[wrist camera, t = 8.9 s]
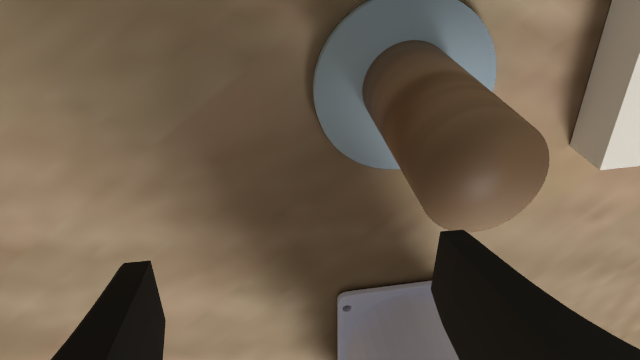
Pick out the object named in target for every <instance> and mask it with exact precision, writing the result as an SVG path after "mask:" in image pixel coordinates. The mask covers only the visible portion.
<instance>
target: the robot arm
mask: <svg viewBox="0 0 640 360" xmlns="http://www.w3.org/2000/svg"><path fill="white" fill-rule="evenodd" d="M347 305H349V306H347ZM344 306H346V307H344ZM164 334H165V317H164V313H163V309H162V305H161V301H160V297H159V293H158V289H157V285H156V281H155V277H154V273H153V269H152V265H151V261H141V262H131V263H124V264H123V265H122V266H121V267H120V268H119V270H118V271H117V272H116V274H115V275H114V277H113V278H112V280H111V281H110V283H109V284H108V286H107V287H106V288H105V290H104V291H103V293H102V294H101V295H100V297H99V298H98V300H97V301H96V302H95V304H94V305H93V307H92V308H91V309H90V311H89V312H88V313H87V315H86V316H85V317H84V319H83V320H82V321H81V323H80V324H79V325H78V327H77V328H76V329H75V331H74V332H73V333H72V334H71V336H70V337H69V338H68V340H67V341H66V342H65V343H64V344H63V346H62V347H61V348H60V349H59V350H58V352H57V353H56V354H55V355H54V356H53V358H52V359H51V360H163V348H164ZM337 360H640V349H638V348H636V347H634V346H632V345H630V344H628V343H626V342H625V341H623V340H621V339H619V338H617V337H615V336H614V335H612V334H610V333H609V332H607V331H605V330H604V329H602V328H600V327H598V326H597V325H595V324H593V323H592V322H590V321H588V320H587V319H585V318H583V317H582V316H580V315H579V314H577V313H575V312H574V311H572V310H571V309H569V308H568V307H566V306H565V305H563V304H562V303H560V302H559V301H557V300H556V299H554V298H553V297H552V296H550V295H549V294H547V293H546V292H544V291H543V290H542V289H540V288H539V287H537V286H536V285H535V284H533V283H532V282H530V281H529V280H528V279H526V278H525V277H524V276H522V275H521V274H520V273H518V272H517V271H516V270H515V269H513V268H512V267H511V266H509V265H508V264H507V263H505V262H504V261H503V260H502V259H500V258H499V257H498V256H497V255H495V254H494V253H493V252H491V251H490V250H489V249H488V248H486V247H485V246H484V245H483V244H481V243H480V242H479V241H478V240H476V239H475V238H474V237H472V236H471V235H470V234H469V233H467V232H466V231H465V230H453V231H443V232H440V237H439V243H438V249H437V255H436V261H435V267H434V273H433V278H432V281H425V282H417V283H409V284H401V285H394V286H386V287H378V288H370V289H362V290H354V291H347V292H343V293H341V294H340V295H339V296H338V298H337Z"/></svg>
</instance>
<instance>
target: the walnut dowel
mask: <svg viewBox="0 0 640 360" xmlns="http://www.w3.org/2000/svg"><path fill="white" fill-rule="evenodd" d="M362 96H363V101H364V105H365V107H366V109H367V111H368V113H369V115H370V117H371V118H372V120H373V122H374V123H375V125H376V127H377V129H378V130H379V132H380V134H381V136H382V137H383V139H384V141H385V143H386V144H387V146H388V148H389V150H390V151H391V153H392V155H393V157H394V158H395V160H396V162H397V164H398V165H399V167H400V169H401V171H402V172H403V174H404V176H405V177H406V179H407V181H408V183H409V184H410V186H411V188H412V190H413V191H414V193H415V195H416V197H417V198H418V200H419V202H420V204H421V205H422V207H423V209H424V211H425V212H426V214H427V215H428V216H429V218H430V219H431V220H432V221H433V222H435V223H436V224H438V225H439V226H441V227H443V228H445V229H448V230H451V231H453V230H465V231H466V232H477V231H482V230H486V229H490V228H493V227H495V226H498V225H500V224H502V223H504V222H506V221H508V220H509V219H511V218H513V217H514V216H516V215H517V214H518V213H520V212H521V211H522V210H523V209H524V208H525V207H526V206H527V205H528V204H529V203H530V202H531V201H532V200H533V199H534V197H535V196H536V195H537V193H538V192H539V190H540V189H541V187H542V185H543V183H544V181H545V178H546V175H547V172H548V167H549V151H548V147H547V144H546V142H545V139H544V138H543V136H542V135H541V133H540V132H539V131H538V130H537V129H536V128H535V127H533V126H532V125H531V124H530V123H529V122H527V121H526V120H525V119H524V118H523V117H521V116H520V115H519V114H518V113H517V112H515V111H514V110H513V109H512V108H511V107H509V106H508V105H507V104H506V103H505V102H503V101H502V100H501V99H500V98H499V97H497V96H496V95H495V94H494V93H493V92H491V91H490V90H489V89H488V88H487V87H485V86H484V85H483V84H482V83H481V82H479V81H478V80H477V79H476V78H475V77H473V76H472V75H471V74H470V73H469V72H467V71H466V70H465V69H464V68H463V67H461V66H460V65H459V64H458V63H457V62H455V61H454V60H453V59H452V58H451V57H449V56H448V55H447V54H446V53H445V52H443V51H442V50H441V49H440V48H438V47H437V46H436V45H434V44H432V43H429V42H426V41H421V40H409V41H403V42H400V43H397V44H395V45H393V46H391V47H389V48H387V49H386V50H384V51H383V52H382V53H381V54H380V55H378V56H377V58H376V59H375V60H374V61H373V62H372V64H371V65H370V67H369V69H368V70H367V72H366V75H365V78H364V82H363V88H362Z"/></svg>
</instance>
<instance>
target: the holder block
mask: <svg viewBox="0 0 640 360" xmlns="http://www.w3.org/2000/svg"><path fill="white" fill-rule="evenodd" d="M570 147H572V148H573V149H574V150H575V151H577V152H578V153H579V154H580V155H582V156H583V157H584V158H585V159H587V160H588V161H589V162H590V163H591V164H593V165H594V166H595V167H596V168H598V169H599V170H606V169H615V168H625V167H635V166H640V0H612V2H611V5H610V9H609V12H608V16H607V19H606V23H605V26H604V29H603V33H602V36H601V40H600V43H599V47H598V50H597V53H596V57H595V60H594V64H593V67H592V71H591V74H590V78H589V81H588V84H587V88H586V91H585V95H584V98H583V102H582V105H581V108H580V112H579V115H578V119H577V122H576V126H575V129H574V132H573V136H572V139H571V143H570Z"/></svg>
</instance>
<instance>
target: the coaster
mask: <svg viewBox="0 0 640 360" xmlns="http://www.w3.org/2000/svg"><path fill="white" fill-rule="evenodd" d="M409 40H421V41H426V42H429V43H432V44H434V45H436V46H437V47H438V48H440V49H441V50H442V51H443V52H445V53H446V54H447V55H448V56H449V57H451V58H452V59H453V60H454V61H455V62H457V63H458V64H459V65H460V66H461V67H463V68H464V69H465V70H466V71H467V72H469V73H470V74H471V75H472V76H473V77H475V78H476V79H477V80H478V81H479V82H481V83H482V84H483V85H484V86H485V87H487V88H488V89H489V90H490V91H491V92H493V89H494V85H495V79H496V54H495V48H494V45H493V42H492V38H491V36H490V34H489V32H488V30H487V28H486V26H485V25H484V23H483V22H482V20H481V19H480V18H479V17H478V15H477V14H476V13H475V12H474V11H473V10H472V9H470V8H469V7H468V6H466V5H465V4H464V3H462V2H460V1H459V0H368V1H366V2H364V3H363V4H361V5H359V6H358V7H357V8H355V9H354V10H353V11H351V12H350V13H349V14H348V15H347V16H346V17H345V18H344V19H343V20H342V21H341V22H340V23H339V24H338V25H337V26H336V27H335V29H334V30H333V31H332V32H331V34H330V36H329V37H328V39H327V40H326V42H325V44H324V46H323V48H322V50H321V52H320V54H319V57H318V60H317V63H316V66H315V71H314V77H313V100H314V106H315V110H316V113H317V116H318V119H319V122H320V124H321V127H322V129H323V131H324V132H325V134H326V136H327V137H328V139H329V140H330V141H331V143H332V144H333V145H334V146H335V147H336V148H337V149H338V150H339V151H340V152H341V153H343V154H344V155H346V156H347V157H348V158H350V159H352V160H354V161H356V162H358V163H360V164H363V165H366V166H369V167H374V168H379V169H400V167H399V165H398V164H397V162H396V160H395V158H394V157H393V155H392V153H391V151H390V150H389V148H388V146H387V144H386V143H385V141H384V139H383V137H382V136H381V134H380V132H379V130H378V129H377V127H376V125H375V123H374V122H373V120H372V118H371V117H370V115H369V113H368V111H367V109H366V107H365V105H364V101H363V96H362V88H363V82H364V78H365V75H366V72H367V70H368V69H369V67H370V65H371V64H372V62H373V61H374V60H375V59H376V58H377V56H378V55H380V54H381V53H382V52H383V51H384V50H386V49H387V48H389V47H391V46H393V45H395V44H397V43H400V42H403V41H409Z"/></svg>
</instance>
